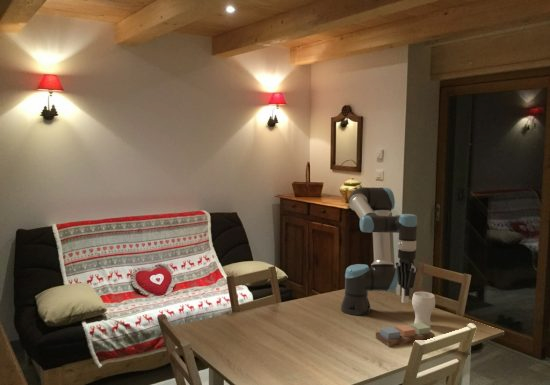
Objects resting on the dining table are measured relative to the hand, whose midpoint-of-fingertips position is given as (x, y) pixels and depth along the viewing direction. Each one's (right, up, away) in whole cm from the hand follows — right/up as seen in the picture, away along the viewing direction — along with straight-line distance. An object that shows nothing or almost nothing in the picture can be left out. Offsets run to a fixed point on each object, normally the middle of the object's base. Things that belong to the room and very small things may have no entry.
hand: (404, 302), depth 214 cm
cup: (+13, -15, +18) cm, 27 cm away
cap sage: (+8, -14, +4) cm, 17 cm away
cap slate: (-7, -15, -2) cm, 16 cm away
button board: (0, -16, +1) cm, 16 cm away
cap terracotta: (0, -14, +1) cm, 14 cm away
